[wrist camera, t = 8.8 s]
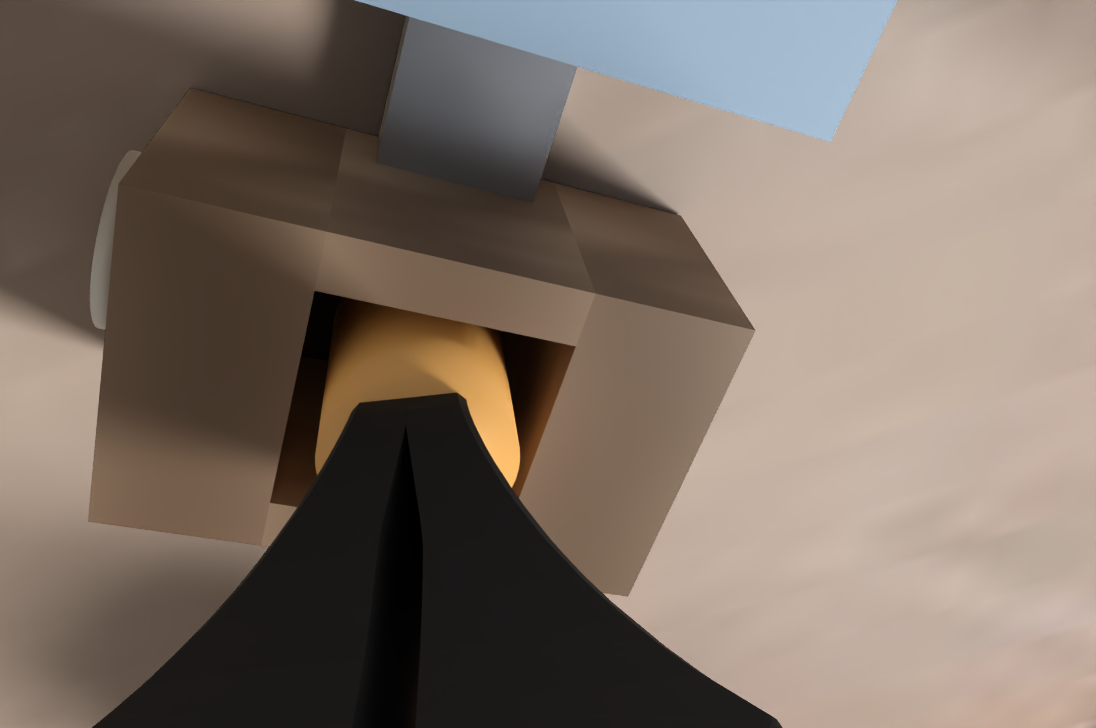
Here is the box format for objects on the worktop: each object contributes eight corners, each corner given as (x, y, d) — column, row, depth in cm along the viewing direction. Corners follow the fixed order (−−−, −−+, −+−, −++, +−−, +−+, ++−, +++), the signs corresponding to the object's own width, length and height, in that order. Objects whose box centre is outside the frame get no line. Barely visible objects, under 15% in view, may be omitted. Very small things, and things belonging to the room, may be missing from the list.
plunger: (518, 278, 14) (545, 398, 12) (474, 412, 16) (489, 551, 13) (352, 240, 14) (337, 358, 11) (319, 383, 15) (298, 523, 12)
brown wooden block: (680, 215, 16) (755, 329, 12) (587, 446, 18) (627, 596, 15) (169, 81, 14) (89, 177, 10) (137, 364, 16) (64, 517, 12)
